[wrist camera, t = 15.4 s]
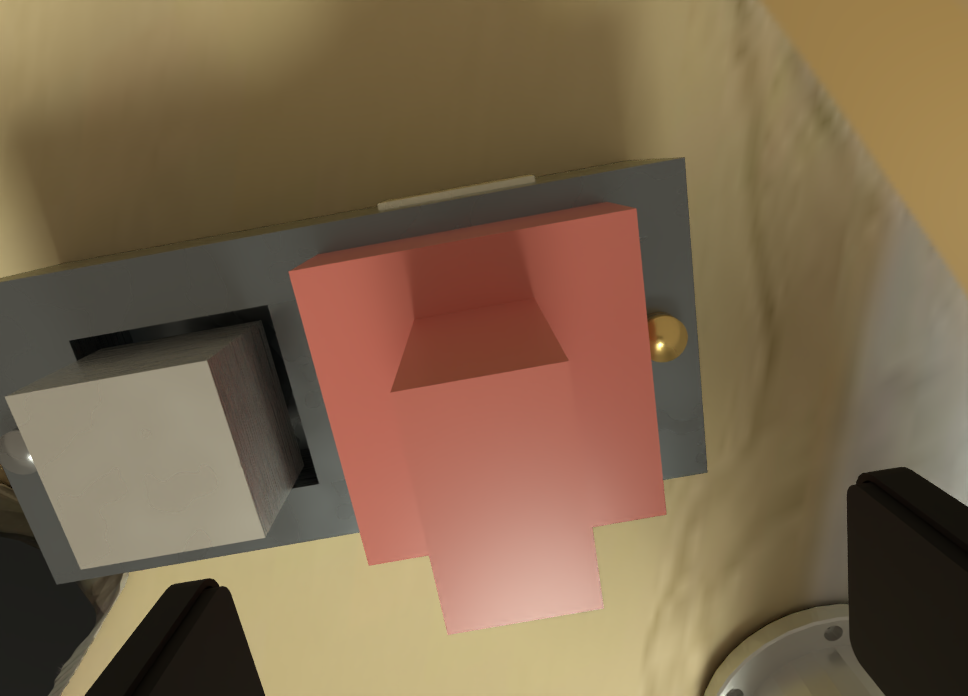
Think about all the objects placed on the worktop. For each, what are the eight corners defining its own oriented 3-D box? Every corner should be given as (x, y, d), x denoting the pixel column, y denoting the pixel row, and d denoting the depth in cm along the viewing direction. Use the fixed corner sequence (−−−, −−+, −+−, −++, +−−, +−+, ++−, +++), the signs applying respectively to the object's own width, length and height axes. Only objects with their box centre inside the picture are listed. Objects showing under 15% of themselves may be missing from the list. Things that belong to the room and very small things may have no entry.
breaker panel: (652, 403, 25) (758, 535, 16) (147, 491, 26) (-26, 668, 17) (627, 154, 22) (740, 145, 13) (58, 259, 23) (-213, 318, 14)
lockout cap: (636, 463, 19) (749, 656, 12) (382, 507, 19) (330, 725, 12) (607, 201, 17) (725, 228, 9) (317, 254, 17) (198, 323, 9)
